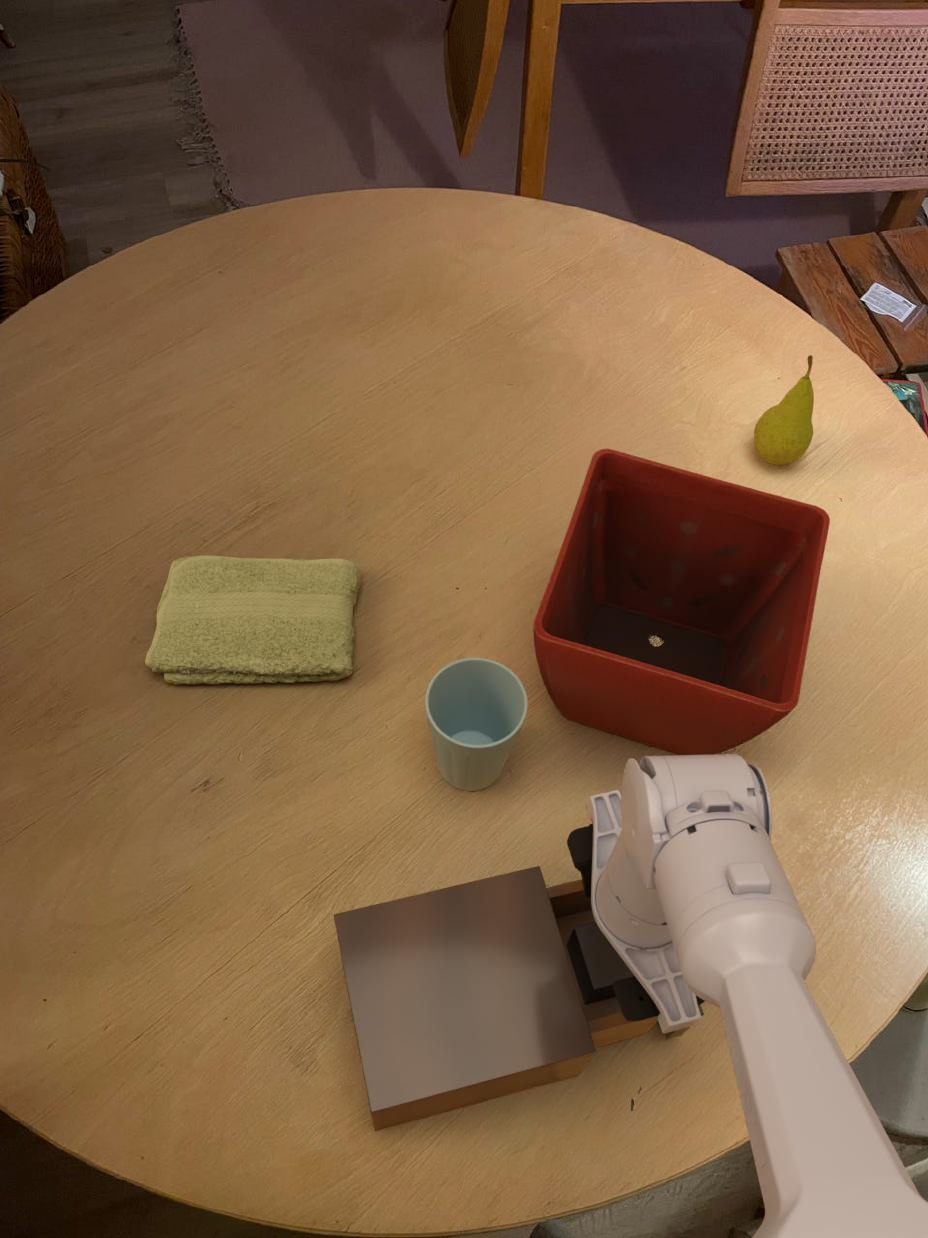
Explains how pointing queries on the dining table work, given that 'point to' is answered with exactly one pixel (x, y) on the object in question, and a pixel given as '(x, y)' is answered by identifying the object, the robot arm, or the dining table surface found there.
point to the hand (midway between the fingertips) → (617, 944)
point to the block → (595, 963)
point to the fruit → (787, 424)
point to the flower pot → (679, 606)
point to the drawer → (600, 1015)
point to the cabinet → (461, 996)
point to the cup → (474, 720)
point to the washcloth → (255, 620)
